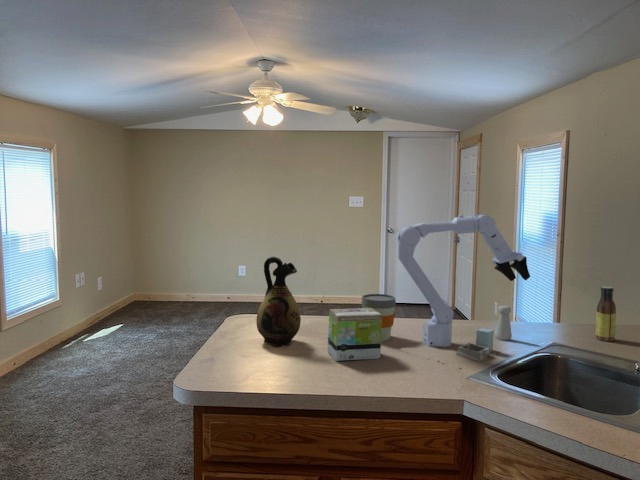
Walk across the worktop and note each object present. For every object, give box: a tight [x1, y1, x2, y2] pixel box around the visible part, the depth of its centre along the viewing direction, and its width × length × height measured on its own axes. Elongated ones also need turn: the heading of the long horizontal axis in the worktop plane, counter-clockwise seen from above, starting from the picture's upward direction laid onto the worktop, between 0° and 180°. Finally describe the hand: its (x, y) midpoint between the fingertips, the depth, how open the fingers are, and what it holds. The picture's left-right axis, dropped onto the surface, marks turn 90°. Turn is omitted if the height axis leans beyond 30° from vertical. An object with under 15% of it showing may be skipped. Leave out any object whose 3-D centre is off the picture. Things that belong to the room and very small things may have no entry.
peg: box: [475, 327, 495, 352], centre depth 161 cm, size 4×4×7 cm
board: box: [455, 342, 501, 362], centre depth 159 cm, size 14×9×4 cm, turn 135°
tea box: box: [327, 307, 382, 362], centre depth 156 cm, size 15×10×15 cm, turn 105°
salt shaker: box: [494, 305, 513, 342], centre depth 175 cm, size 6×6×13 cm
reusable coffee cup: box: [361, 293, 397, 342], centre depth 177 cm, size 13×13×15 cm
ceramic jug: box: [255, 256, 302, 348], centre depth 168 cm, size 17×15×30 cm
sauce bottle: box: [595, 285, 617, 342], centre depth 180 cm, size 7×6×20 cm
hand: (520, 279), depth 165 cm, fingers open, 7 cm apart
